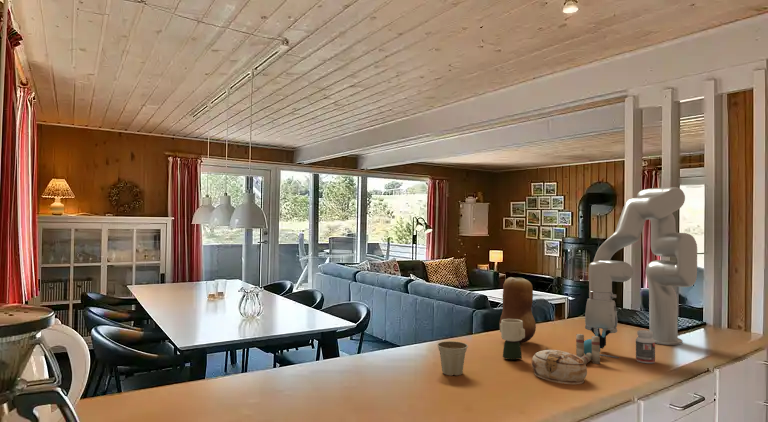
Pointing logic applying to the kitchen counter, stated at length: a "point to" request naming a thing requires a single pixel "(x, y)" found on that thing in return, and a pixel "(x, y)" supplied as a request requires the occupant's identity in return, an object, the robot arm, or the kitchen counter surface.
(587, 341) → the ball
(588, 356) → the pin front
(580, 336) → the pin
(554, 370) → the trinket box
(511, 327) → the character mug
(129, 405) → the kitchen counter surface
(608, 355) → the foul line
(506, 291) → the butternut squash
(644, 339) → the pill bottle
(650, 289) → the robot arm
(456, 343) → the flower pot
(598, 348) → the pin
